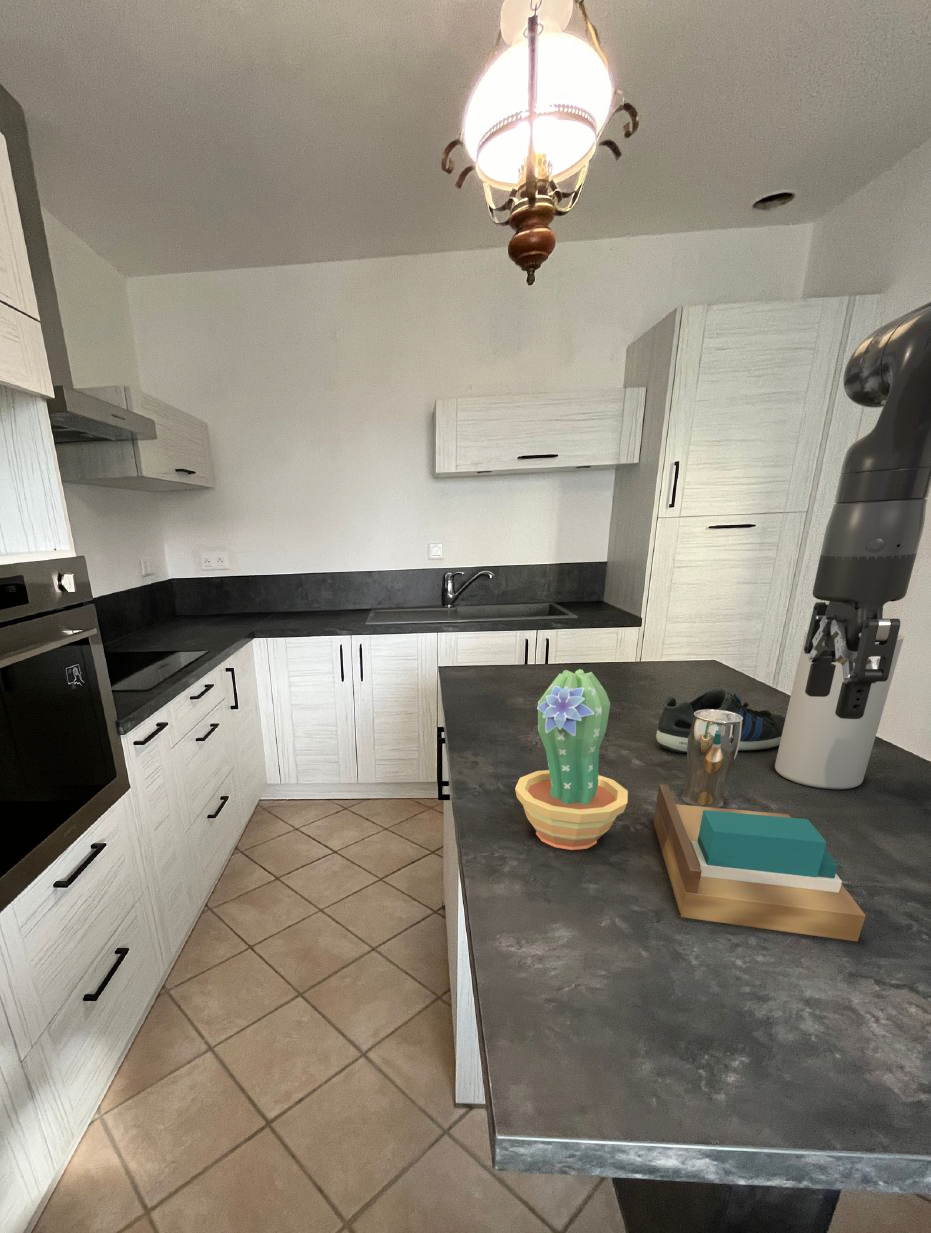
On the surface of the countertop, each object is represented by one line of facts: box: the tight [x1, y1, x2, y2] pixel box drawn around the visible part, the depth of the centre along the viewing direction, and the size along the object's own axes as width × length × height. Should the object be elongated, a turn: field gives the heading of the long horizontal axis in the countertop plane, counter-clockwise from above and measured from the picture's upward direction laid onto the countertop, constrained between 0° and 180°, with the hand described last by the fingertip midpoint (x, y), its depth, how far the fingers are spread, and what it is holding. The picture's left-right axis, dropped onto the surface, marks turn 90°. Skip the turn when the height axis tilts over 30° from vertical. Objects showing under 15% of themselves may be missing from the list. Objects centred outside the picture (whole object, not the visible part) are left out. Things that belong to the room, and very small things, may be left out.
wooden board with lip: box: [653, 783, 866, 942], centre depth 75 cm, size 17×24×7 cm
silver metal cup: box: [681, 709, 743, 808], centre depth 93 cm, size 7×7×15 cm
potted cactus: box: [514, 668, 629, 851], centre depth 82 cm, size 15×15×25 cm
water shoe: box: [655, 688, 786, 754], centre depth 118 cm, size 10×29×12 cm, turn 104°
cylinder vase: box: [774, 629, 905, 790], centre depth 100 cm, size 12×12×25 cm
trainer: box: [691, 810, 843, 893], centre depth 69 cm, size 14×6×6 cm, turn 73°
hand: (831, 706), depth 65 cm, fingers open, 8 cm apart
